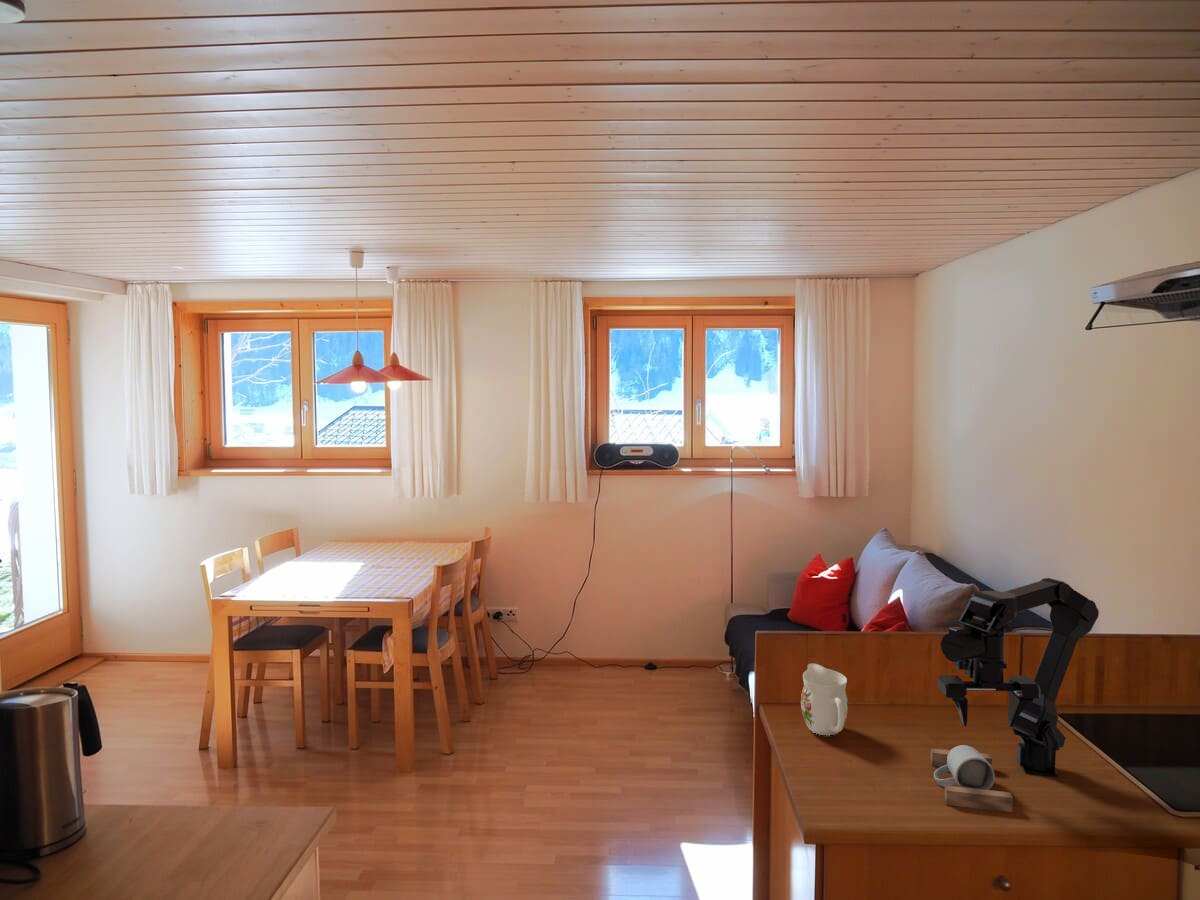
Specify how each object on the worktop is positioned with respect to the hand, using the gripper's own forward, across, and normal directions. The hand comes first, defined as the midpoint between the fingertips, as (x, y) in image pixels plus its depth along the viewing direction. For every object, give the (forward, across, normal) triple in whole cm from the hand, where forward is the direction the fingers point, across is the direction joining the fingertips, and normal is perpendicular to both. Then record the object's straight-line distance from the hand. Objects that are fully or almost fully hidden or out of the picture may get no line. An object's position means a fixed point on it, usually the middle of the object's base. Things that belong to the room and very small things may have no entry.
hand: (987, 725), depth 162 cm
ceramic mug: (+12, +5, +2) cm, 14 cm away
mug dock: (+12, +4, +2) cm, 13 cm away
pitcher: (+12, +29, -21) cm, 38 cm away
